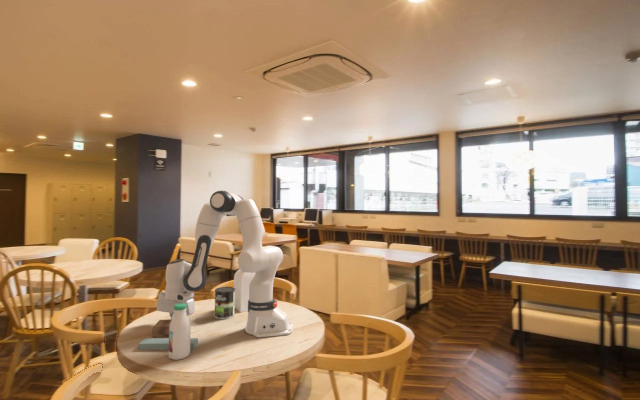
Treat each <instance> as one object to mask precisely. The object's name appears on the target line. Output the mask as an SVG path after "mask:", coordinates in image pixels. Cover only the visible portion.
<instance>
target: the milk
mask: <svg viewBox="0 0 640 400" xmlns="http://www.w3.org/2000/svg"><path fill="white" fill-rule="evenodd" d="M255 274H256V272H255V273H245V272H243V271H241V270H240V268H239V269H238V270H237V271H236V272H235V273H234V274H233V288H235V308H234V310H237V312H239V313H244V312H248V300H249V284H250V282H251V280H252V279H253V278H254V276H255Z"/></svg>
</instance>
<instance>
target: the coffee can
mask: <svg viewBox="0 0 640 400" xmlns="http://www.w3.org/2000/svg"><path fill="white" fill-rule="evenodd" d="M233 287H234V286H233ZM233 287H232V286H220V287H217V288H215V289H214V318H216V319H217V320H227V319H230V318H231V319H232V318H233V317H235V288H233Z"/></svg>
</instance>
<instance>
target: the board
mask: <svg viewBox="0 0 640 400" xmlns="http://www.w3.org/2000/svg"><path fill="white" fill-rule="evenodd" d="M198 345H199V338H198V337H196V338H195V337H194V338H193V337H190V351H194V350H195V349H196V348H197V347H198ZM138 351H169V337H164V338H153V337H150V338H147V337H146V338H144V339H142V340H141V341H140V342H139V343H138Z"/></svg>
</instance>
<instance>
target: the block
mask: <svg viewBox="0 0 640 400" xmlns="http://www.w3.org/2000/svg"><path fill="white" fill-rule="evenodd" d="M171 321H172V319H171V318H170V319H159V320H158V321H157V322H156V323H155V325H154V326H153V328H152V338H169V327H170V323H171Z"/></svg>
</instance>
